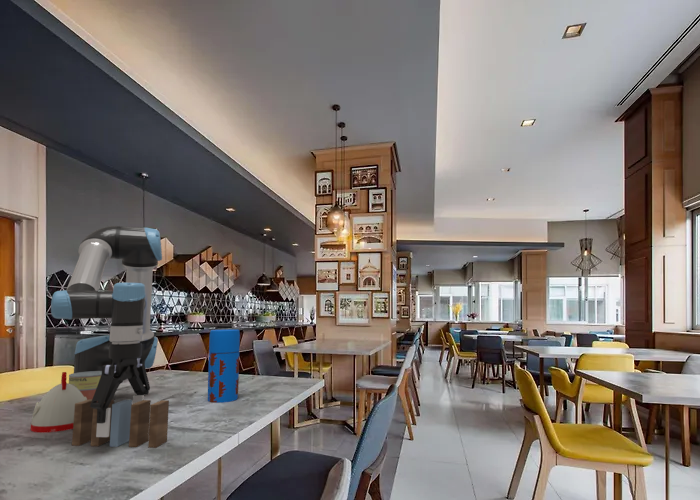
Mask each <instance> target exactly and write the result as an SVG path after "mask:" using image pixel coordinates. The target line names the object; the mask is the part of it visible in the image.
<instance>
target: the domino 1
mask: <svg viewBox="0 0 700 500" xmlns="http://www.w3.org/2000/svg"><path fill="white" fill-rule="evenodd" d="M91 402H92V399H88V400H85V401H82V402H79V403H75V410H74V423H73V429H72V437H71V438H72V439H71V446H75V447H77V446H78V447H80V446H82V445H84V444H86V443H88V442H89V443H90V442H91V433H92V419H93V408H91V407H90V405H91Z"/></svg>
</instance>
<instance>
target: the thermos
mask: <svg viewBox="0 0 700 500" xmlns="http://www.w3.org/2000/svg"><path fill="white" fill-rule="evenodd" d="M240 334H241V333H240V329H211V330H210V332H209V347H208V348H209V349H208V352H209V353H208V370H207V371H208V373H207V375H208V376H207V402H209V403H214V404H215V403H216V404H219V403H223V404H224V403H229V402H234V401H237V400H238V396H239V383H240V382H239V378H240V376H239V375H240V342H241V341H240V339H241V335H240Z"/></svg>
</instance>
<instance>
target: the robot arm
mask: <svg viewBox="0 0 700 500" xmlns="http://www.w3.org/2000/svg"><path fill="white" fill-rule="evenodd" d="M78 255H79V256H78V260H77V262H76V264H75V267H74V270H73V273H72V274H71V277H70V280H69V282H68V285H67V287H66V289H64V290H63V289H62V290H57V291H55V292H54V293H53V294H52V296H51V297H52V298H51V302H50V312H51V317H52V318H54V319H58V320H61V319H63V320H65V319H66V320H69V321H70V320H85V319H89V320H90V319H111V321H110V322H111V323H110V329H109V331H110V332H109V334H108V335H99V336H93V337H92V336H91V337H89V338H88V337H87V338H82V339H79V340H78V341H77V342H76V344H75V351H74V362H73V363H74V365H73V373H79V372H87V371H102V375H101V378H100V380H99V383H98V386H97V388H96V391H95V394H94V396H93V399H92V402H91V405H90V407H91V408H93V409H97V432H96V437H109V428H110V413H111V408H108V406H109V404H110V402H111V400H114V401H115V398H116V393H117V391H118V388H119V387H120V385H121V384H123V382H124V381H126V380H128V382H129V384H130V386H131V388H132V390H133V392H134V395H132V404H134V403H137V402H139V401H142V400H145V395H148V394H149V392H150V389H151V385H150V382H149V378H148V373H147V370H148V369H150V368H152V367H153V365H154V363H155V359H156V354H157V348H158V342H159V341H158V337H157V336H155V333H154V331H153V330H151V311H152V310H151V309H152V295H153V294H152V292H153V290H152V289H153V275H154V273H153V272H154V269H155V268H156V267H158V262H160V261H162V260H163V254H162V241H161V233H160V231H159V230H158V229H156V228H149V227H147V226H146V227H144V226H143V227H142V226H120V225H119V226H118V225H109V226H108V225H107V226H104V227H100V228H98V229H96V230H94V231H92V232H91V233H89V234H88V235H87V236H85V238H83V239H82V241H81V242H80V245H79V247H78ZM114 259H115V260H121V264H122V266H123V267H124V268H125V269H126V271H125V272H126V274H125V276H126V278H125V282H117V283H115V284H114V285H113V289H112V290H99V289H100V286H101V283H102V279H103V274H104V271H105V267H106V264H107V262H108V261H110V260H114ZM146 369H147V370H146ZM97 401H98V402H97ZM104 402H105V403H104Z"/></svg>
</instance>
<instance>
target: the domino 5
mask: <svg viewBox="0 0 700 500" xmlns="http://www.w3.org/2000/svg"><path fill="white" fill-rule="evenodd" d="M169 404H170V401H169V400H165V399H163V400H159V401H157V402H154V403H152V404H151V403H150V420H149V439H148V441H147V442H148V446H147V448H149V449H157V448H158V447H160V446H161V445H163V444H165V443H166V442H168V429H169V428H168V427H169V425H168V424H169V407H170V405H169Z"/></svg>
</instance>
